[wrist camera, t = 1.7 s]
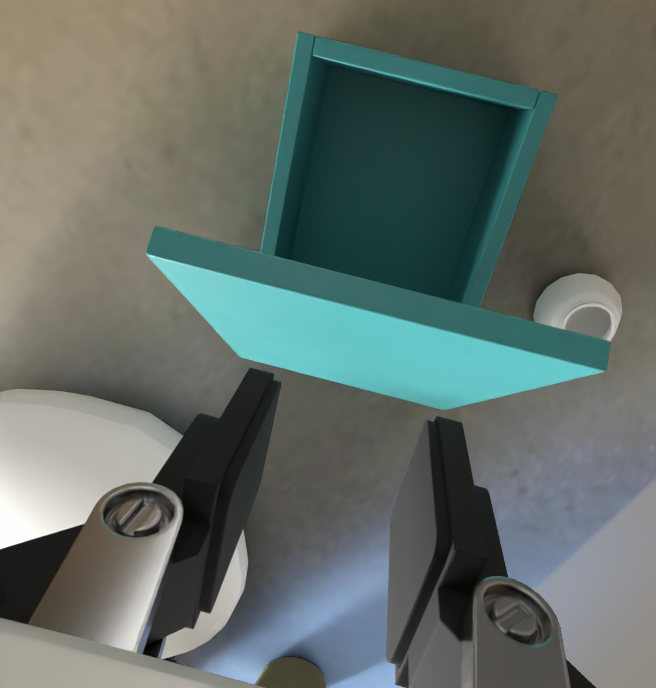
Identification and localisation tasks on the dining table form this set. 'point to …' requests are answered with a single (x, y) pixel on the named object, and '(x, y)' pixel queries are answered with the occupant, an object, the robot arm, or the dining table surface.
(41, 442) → the plate
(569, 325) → the white jar
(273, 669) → the squeeze bottle
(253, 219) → the dining table surface
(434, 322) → the lunchbox lid
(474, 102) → the box
